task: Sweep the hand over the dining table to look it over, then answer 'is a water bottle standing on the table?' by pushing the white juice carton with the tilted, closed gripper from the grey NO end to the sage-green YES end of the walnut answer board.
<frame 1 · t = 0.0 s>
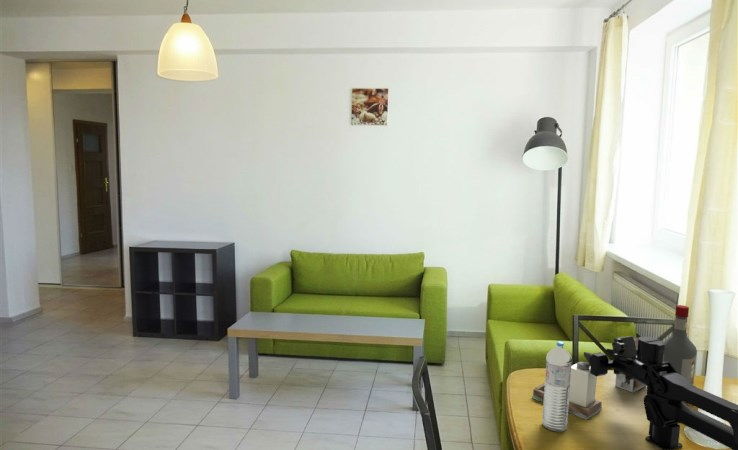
hand: (595, 351, 161), 17 cm above the table, tool horizontal, fingers open, 9 cm apart
liquor: (673, 395, 169), on the table
coffee box: (630, 386, 175), on the table
water bottle: (554, 427, 147), on the table
white juice carton: (581, 384, 157), point 8 cm above the table, slide at 0.0 cm
answer board: (560, 401, 163), on the table
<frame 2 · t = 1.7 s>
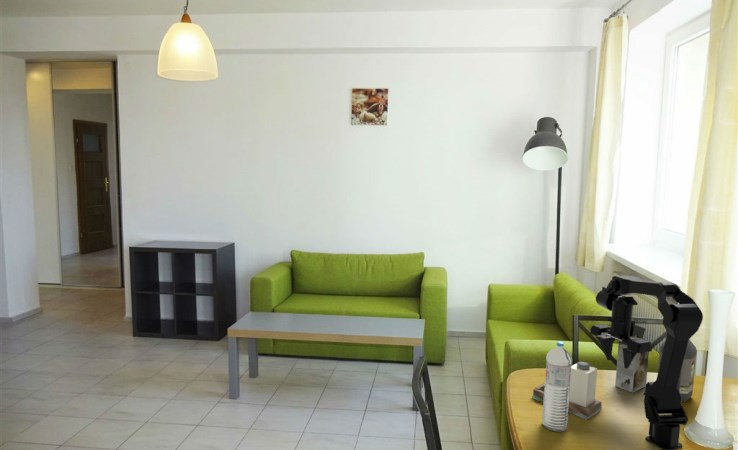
hand: (617, 364, 160), 13 cm above the table, tool pointing down, fingers open, 6 cm apart
nothing on the table moved.
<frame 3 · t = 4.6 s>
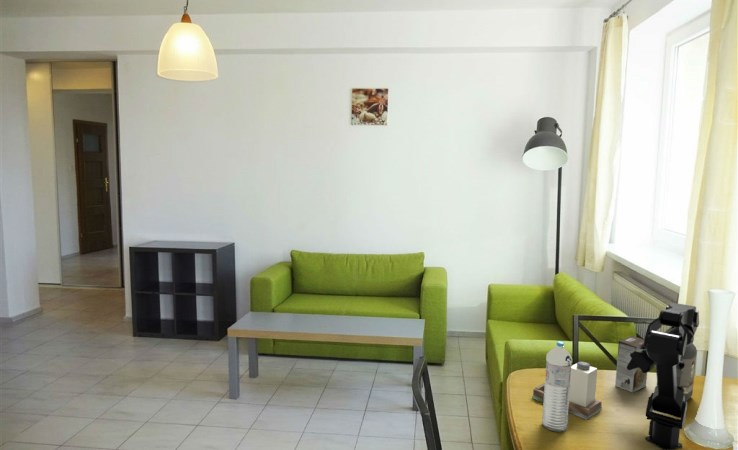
hand: (627, 368, 156), 13 cm above the table, tool tilted 45°, fingers closed
nothing on the table moved.
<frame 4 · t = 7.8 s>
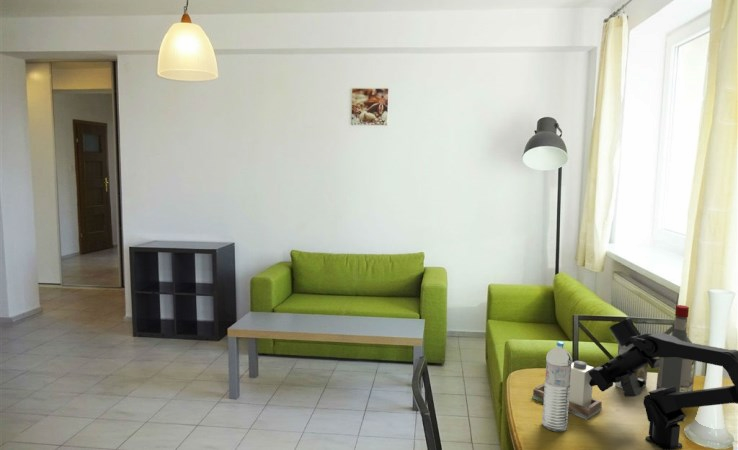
hand: (590, 384, 156), 8 cm above the table, tool tilted 45°, fingers closed, pressing on white juice carton
white juice carton: (578, 383, 158), point 8 cm above the table, slide at 1.1 cm, touching gripper
everything else where it was.
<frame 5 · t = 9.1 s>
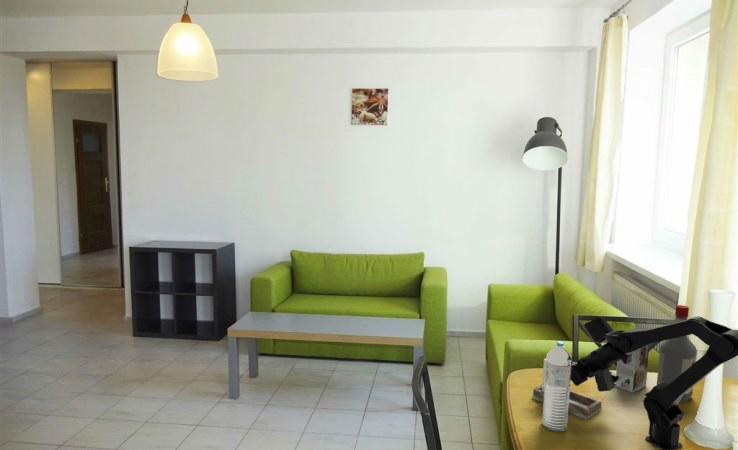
hand: (566, 379, 161), 8 cm above the table, tool tilted 45°, fingers closed, pressing on white juice carton
white juice carton: (556, 376, 163), point 8 cm above the table, slide at 8.3 cm, touching gripper
everything else where it was.
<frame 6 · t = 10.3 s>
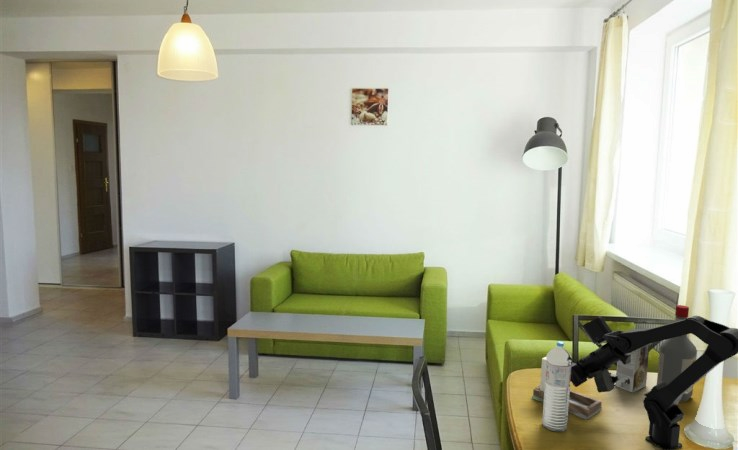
hand: (566, 380, 161), 7 cm above the table, tool tilted 45°, fingers closed
white juice carton: (554, 375, 164), point 8 cm above the table, slide at 9.0 cm
everything else where it was.
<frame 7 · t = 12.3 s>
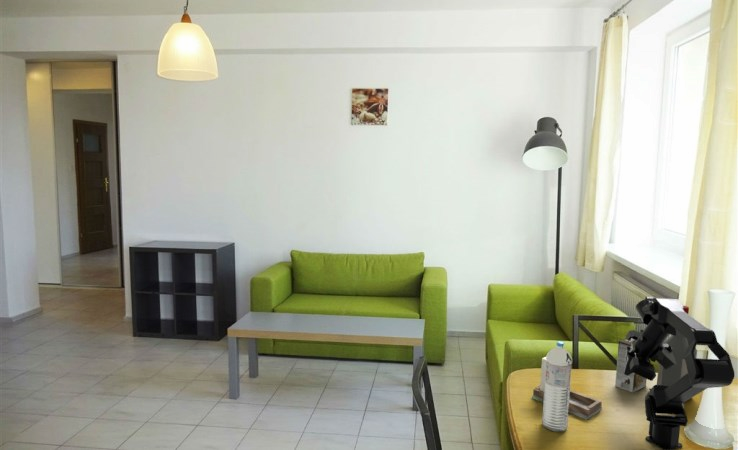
hand: (625, 374, 153), 13 cm above the table, tool tilted 25°, fingers closed
nothing on the table moved.
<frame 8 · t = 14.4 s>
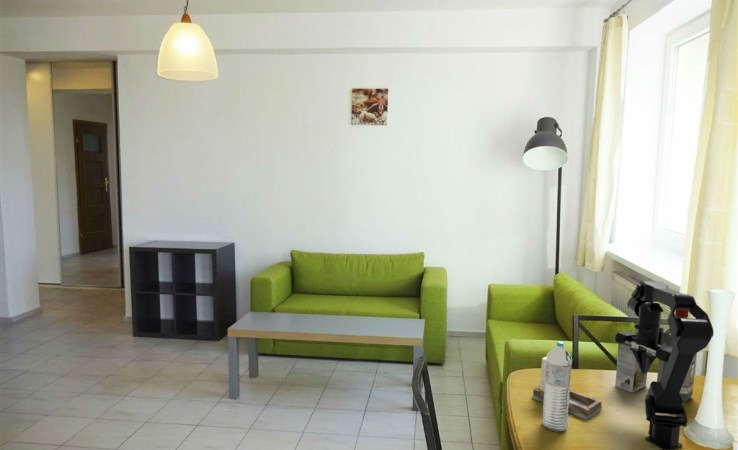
hand: (644, 373, 154), 13 cm above the table, tool pointing down, fingers closed
nothing on the table moved.
at the end: white juice carton slide at 9.0 cm; water bottle moved 0.2 cm from its start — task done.
